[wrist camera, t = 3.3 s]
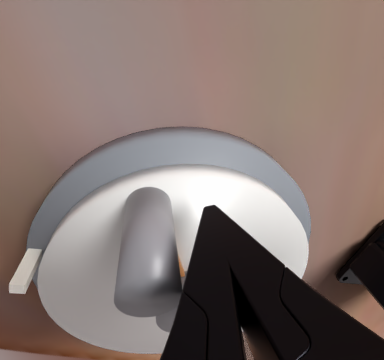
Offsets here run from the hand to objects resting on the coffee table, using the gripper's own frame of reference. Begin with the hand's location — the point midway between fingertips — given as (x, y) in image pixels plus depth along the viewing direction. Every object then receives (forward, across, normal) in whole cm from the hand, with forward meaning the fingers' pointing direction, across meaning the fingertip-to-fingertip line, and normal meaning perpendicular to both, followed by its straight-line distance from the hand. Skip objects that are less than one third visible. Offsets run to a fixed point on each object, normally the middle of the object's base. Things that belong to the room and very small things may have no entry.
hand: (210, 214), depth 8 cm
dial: (+3, +2, +6) cm, 7 cm away
